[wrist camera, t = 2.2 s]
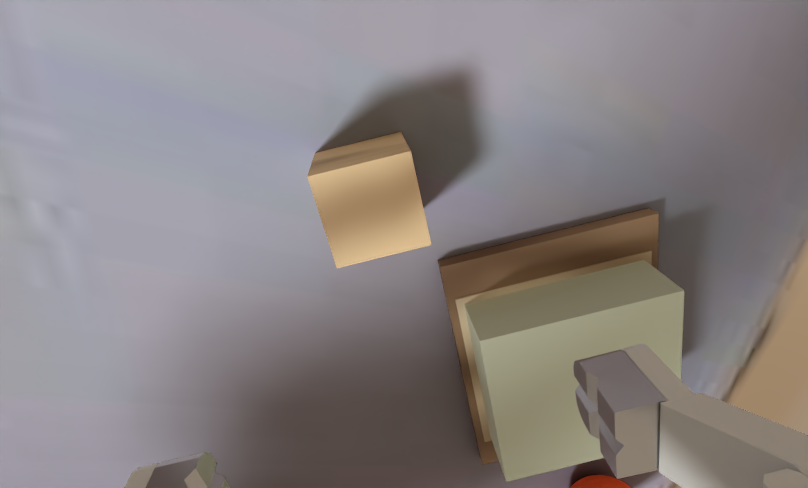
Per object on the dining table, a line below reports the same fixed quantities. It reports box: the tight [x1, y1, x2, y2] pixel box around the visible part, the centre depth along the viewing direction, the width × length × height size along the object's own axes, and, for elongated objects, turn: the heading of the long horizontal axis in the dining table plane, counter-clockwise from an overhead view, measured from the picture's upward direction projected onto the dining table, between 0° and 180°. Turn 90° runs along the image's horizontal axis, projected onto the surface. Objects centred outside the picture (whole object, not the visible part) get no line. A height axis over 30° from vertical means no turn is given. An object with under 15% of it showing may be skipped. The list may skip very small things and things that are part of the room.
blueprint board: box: [438, 208, 659, 465], centre depth 33 cm, size 18×14×1 cm
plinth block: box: [464, 260, 684, 482], centre depth 31 cm, size 12×12×4 cm
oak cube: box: [307, 132, 431, 268], centre depth 25 cm, size 5×5×5 cm
